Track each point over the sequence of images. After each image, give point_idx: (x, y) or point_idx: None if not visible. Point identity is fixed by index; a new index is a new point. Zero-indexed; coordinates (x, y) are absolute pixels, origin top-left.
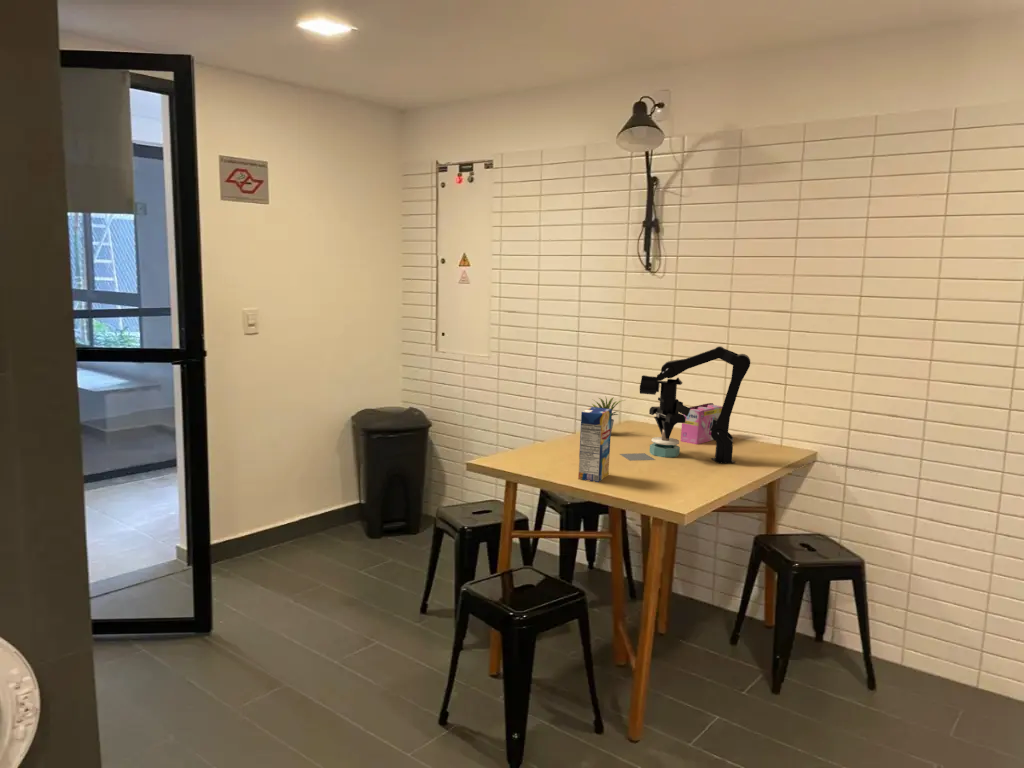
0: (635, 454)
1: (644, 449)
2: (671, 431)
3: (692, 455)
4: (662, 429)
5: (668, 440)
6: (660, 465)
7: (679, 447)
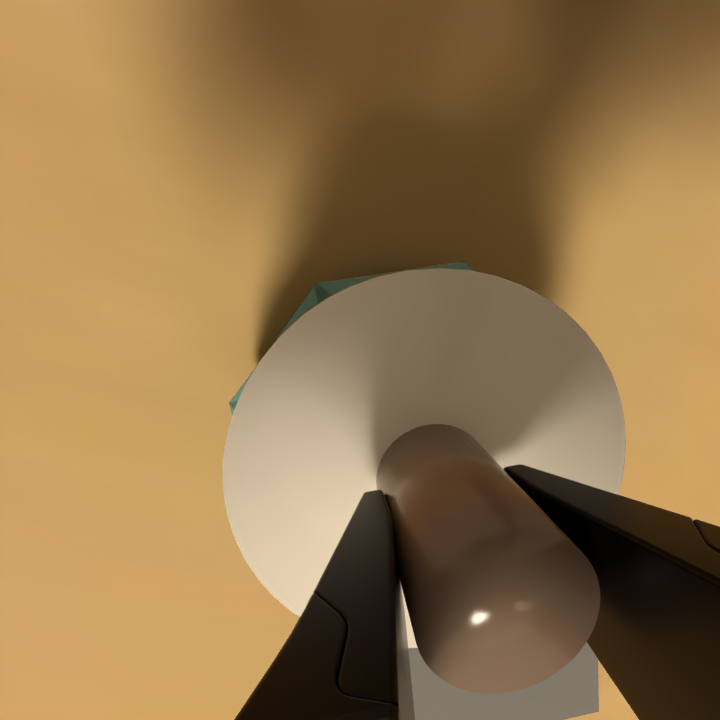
0: (414, 651)
1: (151, 529)
2: (660, 511)
3: (377, 89)
4: (516, 689)
5: (481, 445)
6: (710, 516)
7: (472, 269)
